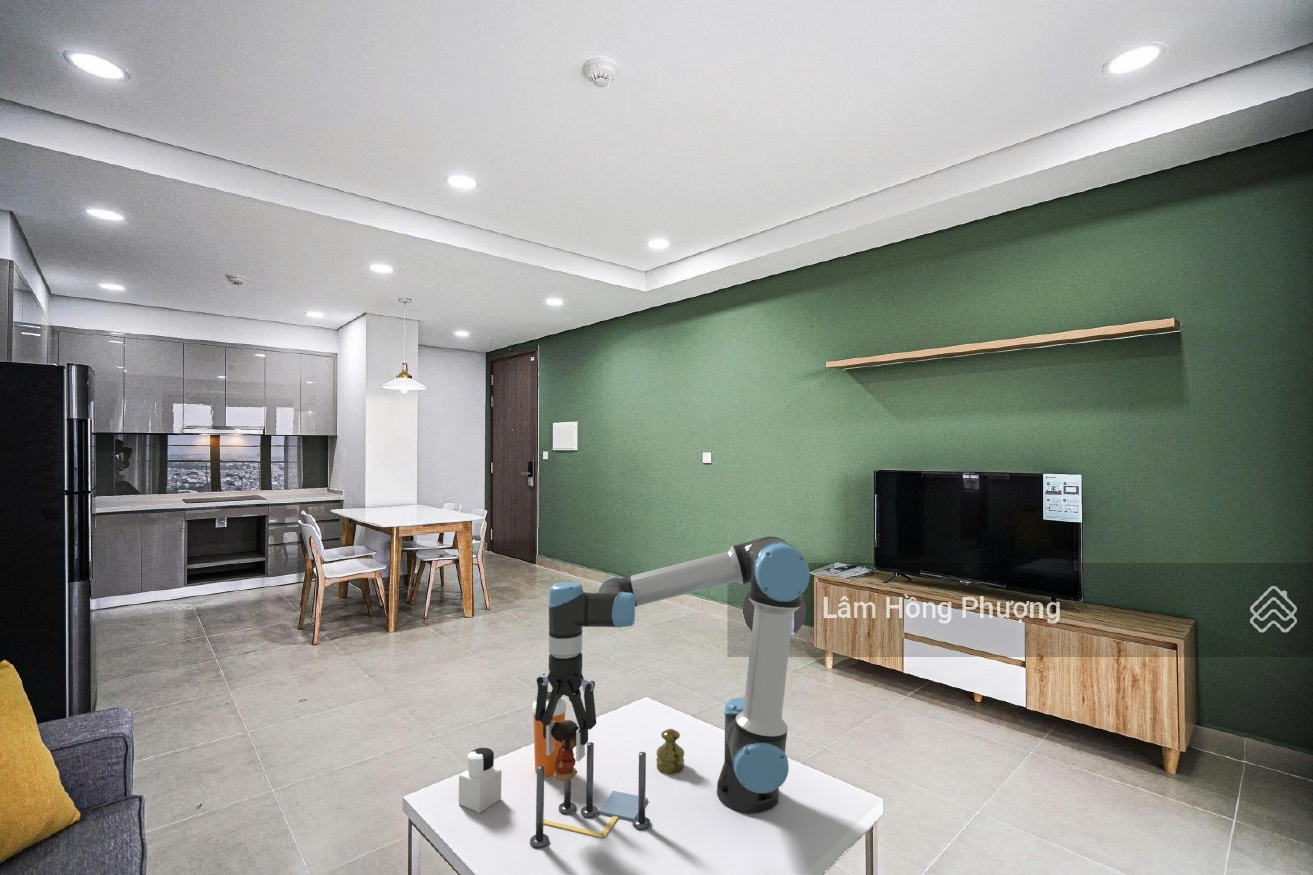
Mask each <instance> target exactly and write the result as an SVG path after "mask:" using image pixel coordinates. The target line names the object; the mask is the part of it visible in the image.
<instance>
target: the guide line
mask: <svg viewBox="0 0 1313 875" xmlns="http://www.w3.org/2000/svg"><path fill="white" fill-rule="evenodd" d="M618 819H619V818H618V816H613V817H612V816H611V818H610V820H609V821H608V823H607V824H606V826H605V827H604V829H603V830H602V831H601V832H599V831H594V830H591V829H586V828H582V827H577V826H573V825H571V824H570V825H569V824H564V823H561V822H557V821H551V820H547V819H544V825H545V826H550V827H554V828H557V829H562V830H565V831H569V832H574V833H578V834H583V835H587V836H591V837H595V838H598V839H599V838H600V839H602V838H606V837H607V835H608V834H609V833H610V831H611V830H612V828H613V826H615V823H616V822H617V821H618ZM544 825H543V826H544Z"/></svg>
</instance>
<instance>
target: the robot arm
mask: <svg viewBox="0 0 1313 875" xmlns="http://www.w3.org/2000/svg"><path fill="white" fill-rule="evenodd" d="M809 582H810V568H809V565H808V562H807V560H806V558H805V557H804V555H803V553H802V552H801V551H800V550H799V549H798V548H797V547H795V546H794V545H792V544H790V543H788V542H787V541H786V540H784V539H782V538H780V537H777V536H772V535H771V536H761V537H759V538H755V539H752V540H748V541H746V542H742V543H737V544H735V545H731V546H730V548H729V549H728V550H727V551H724V552H720V553H716V554H713V555H707V556H704V557H700V558H697V559H692V560H688V561H684V562H680V563H676V564H673V565H669V566H665V567H660V568H657V569H653V570H649V571H645V572H644V571H643V572H640V573H637V574H632V575H629V576H624V577H618V576H617V577H616V576H612V577H610V578H608V579H606V580H605V581H604V582H602V584H601V585H600V587H599V589H598V592H587V591H584V590H583V585H582V584H581V583H579V582H573V581H562V582H557V583H554V584H552V586H551V587H550V588H549V597H548V605H547V606H548V653H549V654H548V671H549V672H548V674H545V673H543V674H541V675H540V676H539V677H537V678H536V685H537V693H536V695H537V704H536V714H535V720H536V721H541V722H542V724H543V737H544V738H546V755H548V756H549V755H550V754H551V753H552V752H553V751H554V750H555V739H554V738H553V736H552V735H551V730H552V728H553V726H554V723H555V721H552V722H551V720H552V719H553V718H552V717H553V714H554V711H555V709H556V706H557V703H558V700H559V697H560V695H563V696H565V697H568V699H569V702H571V705H572V709H573V713H574V715H575V718H576V721H577V725H578V727H579V729H578V730H577V731H576V747H575V750H576V751H575V755H576V756H575V761H576V762H581V761H582V759H583V758H584V757H585V754H586V752H585V751H586V749H585V748H586V747H585V746H586V745H587V743H589V742H588V741H589V731H590V730H592V729H593V728H594V727H595V726H596V725H597V715H596V704H595V695H594V694H595V693H594V692H595V691H594V690H595V686H596V682H595V681H594V680H590V681H588V680H587V679H585V678H584V676H583V674H582V673H583V672H582V671H583V653H582V651H583V628H584V627H585V628H592V627H593V628H617V629H619V628H625V627H626V628H627V627H632V626H634V624H635V623H636V622H635V621H636V607H639V606H643V605H648V604H652V603H655V602H656V603H657V602H660V601H663V600H668V599H672V598H675V597H681V596H683V595H689V594H692V593H695V592H696V593H697V592H699V591H700V592H701V591H703V590H704V591H705V590H707V589H713V588H716V587H720V586H724V585H727V584H732V583H738V584H740V585H746V584H749V594H748V600H749V601H750V602H751V604H752V605H753V606H754V610H753V619H752V620H753V621H752V628H751V638H750V648H749V654H748V655H749V656H748V664H747V674H746V683H745V691H744V693H745V694H744V697H735V698H732V699H729V700H728V701H727V702H726V703H725V707H724V712H723V714H724V759H723V760H724V762H723V764H722V768H721V771H720V773H719V776H718V779H717V783H716V795H717V798H718V799H719V801H720V802H721V803H722V804H723V805H725V806H726V807H728V809H729V808H730V809H732V810H735V811H737V812H741V813H742V812H743V813H749V814H750V813H751V814H757V813H763V812H767V811H771V810H773V809H774V808H775V807H776V806H777V805H778V803H779V801H780V789H779V788H780V787H781V786H783V784H784V783H785V782H786V780H787V778H788V775H789V758H788V756H787V755H786V747H787V746H786V745H787V736H788V725H787V723H786V722H785V721H784V719H783V711H784V710H783V708H784V698H785V691H786V680H787V673H788V664H789V663H788V662H789V653H790V646H791V645H790V644H791V636H792V635H791V634H792V626H793V616H794V613H795V612H797V610H799V609H800V608H801V606H802V599H803V593H804V592H805V591H806V589H807V587H808V585H809ZM549 684H550V686H551V688H552V689H551V691H550V692H551V694H550V700H549V703H548V706H547V709H546V700H547V691H548V690H549V688H548V687H549ZM581 687H582V691H583V700H584V703H583V700H582V693H581V690H580V688H581ZM545 710H546V711H545Z"/></svg>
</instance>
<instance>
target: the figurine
mask: <svg viewBox="0 0 1313 875" xmlns="http://www.w3.org/2000/svg"><path fill="white" fill-rule="evenodd" d="M578 729H579V725H578V723H576V721H574V720H571V719H565V721H563V722H555V723H554V726H553V728H552V730H551V735H552V736H553V738H554V739H555V740H557V741H559V742H561V748H560V749H559V751H558V756H557V757H556V760H555V767H554V768H555V773H554V775H552V777H553V778H554V779H555V780H556V781H559V782H564V781H568V780H570V779H571V780H572V779H573V778H574V777H575V776H576V775H577V773H578V770H577V769H576V768H575V765H576V762H577V761H576V757H575V754H574V751H573V750H574V748H576V731H577V730H578Z"/></svg>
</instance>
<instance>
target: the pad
mask: <svg viewBox="0 0 1313 875" xmlns="http://www.w3.org/2000/svg"><path fill="white" fill-rule="evenodd" d="M647 801H648V797H646V796H645V804H646V803H647ZM598 814H599V815H604V816H609V817H611V818H612V817H613V816H618V819H622V820H626V821H631V822H633V820H634V819H635V818H637V817H638V795H636V794H631V793H625V792H621V791H617V790H612V791H611V793H610V794H609V796H608V797H607V798H606V799H605V801H604V802H603V804H601V806H600V808H598Z"/></svg>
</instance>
